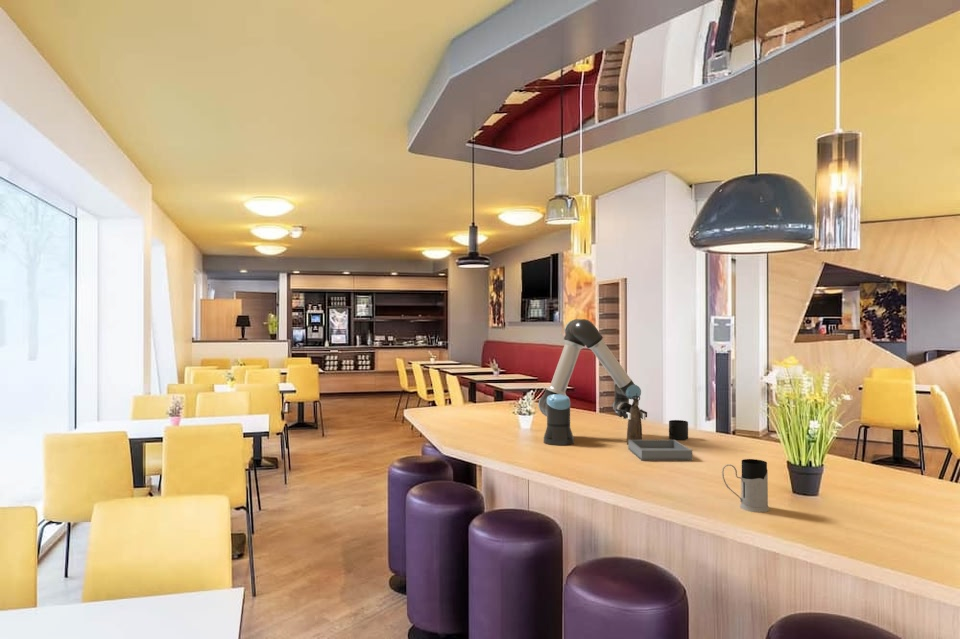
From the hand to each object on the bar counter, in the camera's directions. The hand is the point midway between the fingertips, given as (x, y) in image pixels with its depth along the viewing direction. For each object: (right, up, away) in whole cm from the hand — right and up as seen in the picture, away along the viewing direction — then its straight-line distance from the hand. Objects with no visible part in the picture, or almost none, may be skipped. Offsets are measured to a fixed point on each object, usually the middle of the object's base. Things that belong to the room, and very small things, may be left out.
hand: (637, 416), depth 290 cm
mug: (+26, -15, +22) cm, 37 cm away
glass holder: (+11, -14, -94) cm, 96 cm away
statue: (0, -14, +5) cm, 15 cm away
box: (+6, -15, -15) cm, 22 cm away
